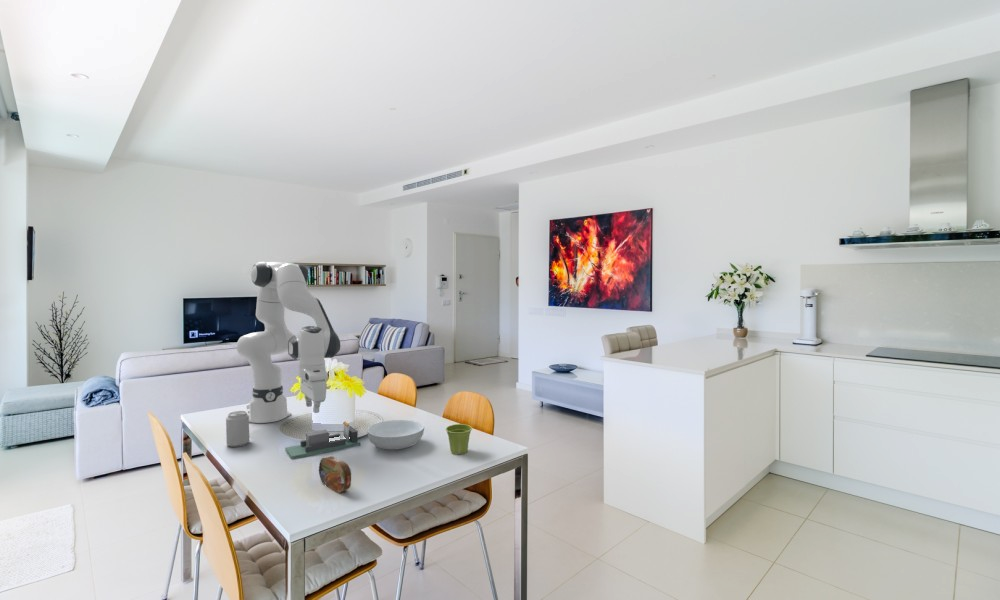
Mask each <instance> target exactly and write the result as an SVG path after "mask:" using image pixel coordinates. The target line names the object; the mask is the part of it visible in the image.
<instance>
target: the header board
mask: <svg viewBox="0 0 1000 600" xmlns="http://www.w3.org/2000/svg"><path fill="white" fill-rule="evenodd" d="M342 424H343V426H342V428H343V431H342V432H343V436H344V437H345V438H346V439H340V440H335V441H330V442H325V443H320V444H315V445H310V446H306V439H305V440H303V439H302V440H300V444H298V445H292V446H287V447H284V449H285V450H284V451H285V452H286V454H287V455H288V457H289V458H290V459H291V460H295V459H301V458H304V457H310V456H314V455H319V454H323V453H329V452H333V451H338V450H343V449H347V448H352V447H357V446H360V445H361V442H360V441H359V437H358V433H359V432H358V430H357V429H355V428H354V427H353V426H352V425H350V424H349V423H348V422H347V421H343V422H342ZM339 436H340V437H341V434H340V433H335V434H331V435H329V438H334V437H339ZM349 437H350V439H349Z"/></svg>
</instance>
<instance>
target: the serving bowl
mask: <svg viewBox="0 0 1000 600" xmlns="http://www.w3.org/2000/svg"><path fill="white" fill-rule="evenodd" d="M366 431H367V437H368V440H369V441H370V443H372V444H373V445H374V446H376V447H377V448H380V449H384V450H394V451H395V450H396V451H397V450H401V449H405V448H409V447H412V446H414V445H415V444H417V443H418V442H419V441H420V440H421V438H422V437H423V435H424V431H425V425H424V424H423V423H421V422H419V421H415V420H410V419H393V420H392V419H390V420H385V421H381V422H377V423H374V424H371V425H370V426H369V427H368V428H367V429H366Z"/></svg>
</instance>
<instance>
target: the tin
mask: <svg viewBox="0 0 1000 600" xmlns="http://www.w3.org/2000/svg"><path fill="white" fill-rule="evenodd" d="M351 470H352V469H351V467H350V466H349V465H348V463H347V462H345V461H343V460H341V459H339V458H338V457H335V456H332V455H331V456H326V457H325V456H324V457H323V458H321V459H320V461H319V465H318V475H319V478H320V481H321V482H322V484H323V485H324V486H325V485H326V487H327V488H329V489H330V488H331V490H332V491H334V492H335V493H338V494H339V493H342V492H345V491H347V490H349V488H350V487H351V485H352V471H351Z"/></svg>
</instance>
